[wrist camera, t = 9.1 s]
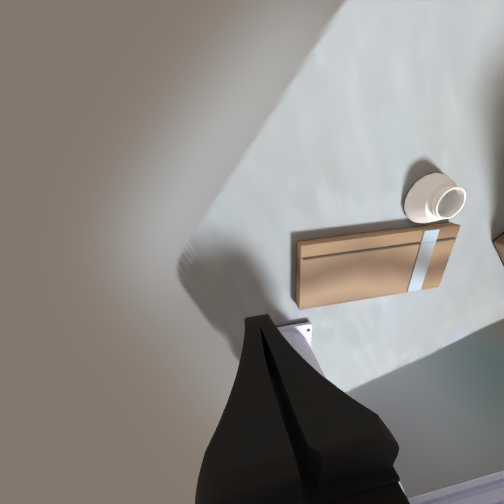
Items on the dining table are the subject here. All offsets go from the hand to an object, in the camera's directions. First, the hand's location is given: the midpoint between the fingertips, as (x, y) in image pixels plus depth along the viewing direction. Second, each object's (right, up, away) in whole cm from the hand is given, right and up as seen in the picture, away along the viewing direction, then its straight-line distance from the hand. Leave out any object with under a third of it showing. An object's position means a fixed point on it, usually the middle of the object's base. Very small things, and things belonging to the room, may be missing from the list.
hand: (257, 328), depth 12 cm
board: (+14, +3, +12) cm, 19 cm away
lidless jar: (+18, +10, +10) cm, 23 cm away
